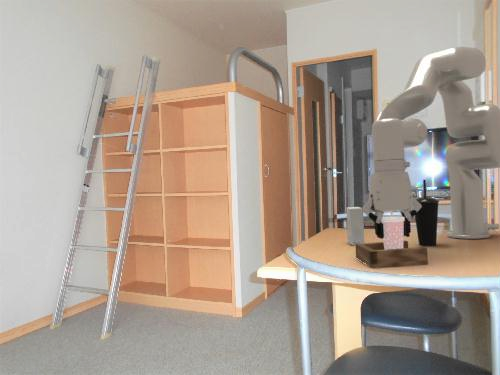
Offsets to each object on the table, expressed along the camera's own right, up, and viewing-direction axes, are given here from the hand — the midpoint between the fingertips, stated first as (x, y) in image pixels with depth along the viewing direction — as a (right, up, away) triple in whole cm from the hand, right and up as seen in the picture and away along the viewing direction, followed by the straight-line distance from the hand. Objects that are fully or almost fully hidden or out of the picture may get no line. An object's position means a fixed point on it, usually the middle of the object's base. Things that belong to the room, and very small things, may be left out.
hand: (393, 236), depth 102 cm
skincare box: (-2, -6, +28) cm, 29 cm away
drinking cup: (+17, -5, +19) cm, 26 cm away
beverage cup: (0, -4, 0) cm, 4 cm away
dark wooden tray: (-1, -6, 0) cm, 6 cm away
